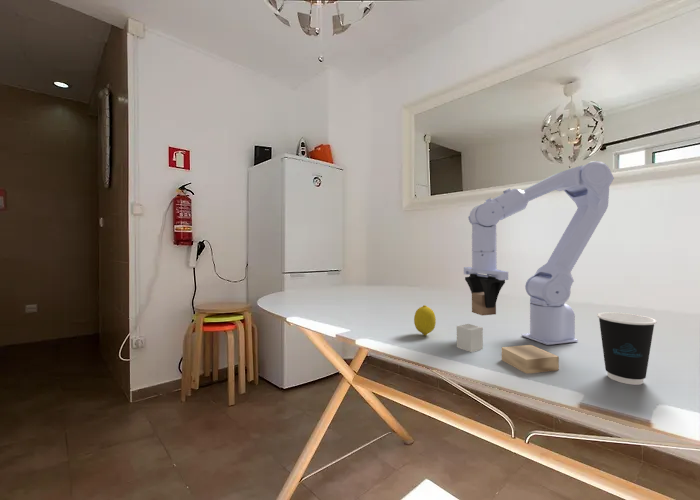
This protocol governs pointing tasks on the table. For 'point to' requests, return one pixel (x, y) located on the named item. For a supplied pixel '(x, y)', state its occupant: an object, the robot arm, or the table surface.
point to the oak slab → (530, 359)
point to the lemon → (424, 320)
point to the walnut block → (481, 305)
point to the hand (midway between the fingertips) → (484, 305)
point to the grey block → (469, 337)
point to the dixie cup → (626, 345)
